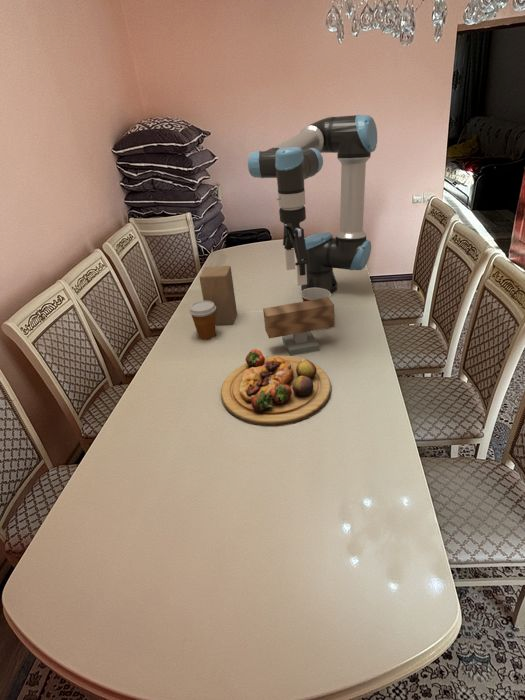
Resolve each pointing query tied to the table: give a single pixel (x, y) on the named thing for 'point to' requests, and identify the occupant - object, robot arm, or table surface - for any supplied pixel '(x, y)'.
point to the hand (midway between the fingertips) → (296, 276)
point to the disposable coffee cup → (204, 319)
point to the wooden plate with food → (275, 389)
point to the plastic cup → (314, 294)
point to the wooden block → (219, 292)
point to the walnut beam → (299, 317)
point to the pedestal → (300, 343)
